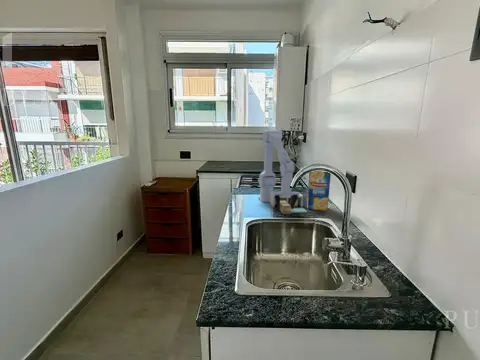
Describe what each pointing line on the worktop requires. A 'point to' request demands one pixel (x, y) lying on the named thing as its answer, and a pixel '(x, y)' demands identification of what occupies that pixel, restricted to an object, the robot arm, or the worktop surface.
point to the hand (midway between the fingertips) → (285, 208)
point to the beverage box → (318, 190)
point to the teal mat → (298, 210)
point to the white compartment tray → (287, 200)
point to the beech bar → (285, 207)
